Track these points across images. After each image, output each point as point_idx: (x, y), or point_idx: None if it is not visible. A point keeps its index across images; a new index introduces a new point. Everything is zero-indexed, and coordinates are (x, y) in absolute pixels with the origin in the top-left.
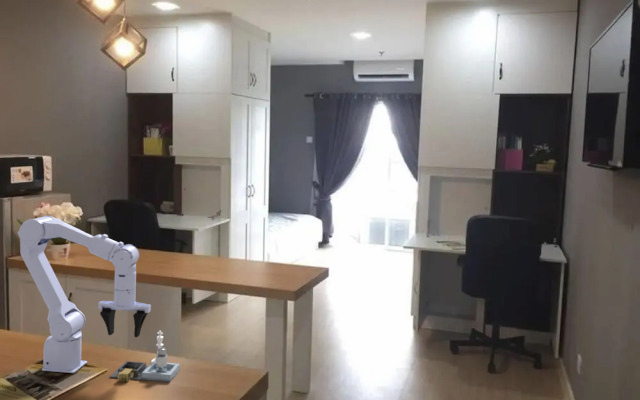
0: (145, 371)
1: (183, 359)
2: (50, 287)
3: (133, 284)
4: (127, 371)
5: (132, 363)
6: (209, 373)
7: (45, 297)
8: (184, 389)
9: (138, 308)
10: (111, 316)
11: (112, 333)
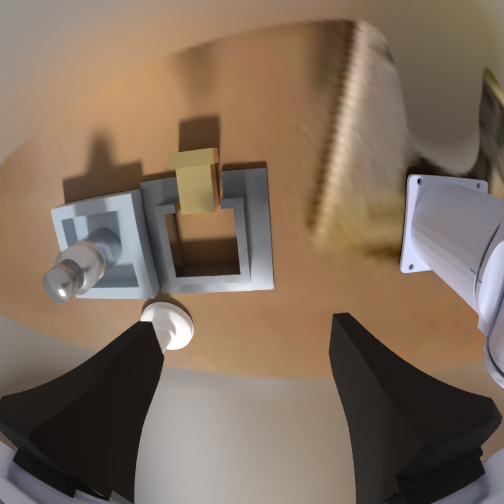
0: (126, 207)
1: None
2: None
3: None
4: (188, 184)
5: (220, 273)
6: (31, 283)
7: None
8: (24, 174)
9: (16, 493)
10: (372, 444)
11: (331, 340)
